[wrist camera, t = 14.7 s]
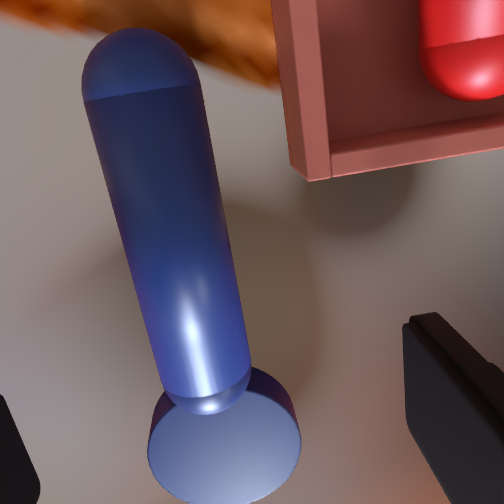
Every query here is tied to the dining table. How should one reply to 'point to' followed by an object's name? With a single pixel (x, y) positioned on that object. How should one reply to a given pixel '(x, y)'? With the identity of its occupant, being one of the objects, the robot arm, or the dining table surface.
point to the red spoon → (462, 47)
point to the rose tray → (368, 91)
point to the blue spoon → (185, 276)
